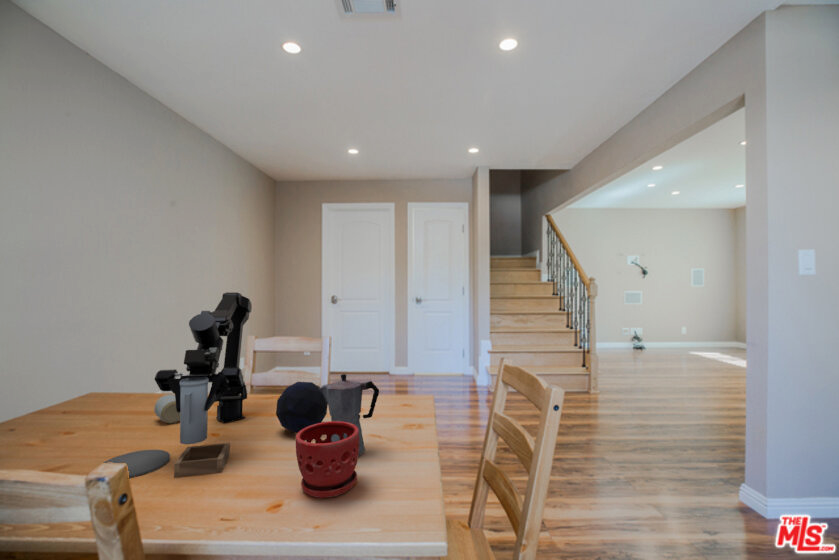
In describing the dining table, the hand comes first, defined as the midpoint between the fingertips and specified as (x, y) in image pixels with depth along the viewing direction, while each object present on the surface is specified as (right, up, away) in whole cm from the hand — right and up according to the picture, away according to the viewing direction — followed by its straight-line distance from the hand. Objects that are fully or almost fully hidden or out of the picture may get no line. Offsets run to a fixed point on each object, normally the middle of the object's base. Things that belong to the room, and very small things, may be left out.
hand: (192, 410), depth 91 cm
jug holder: (+2, -13, +2) cm, 14 cm away
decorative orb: (+18, -14, +24) cm, 34 cm away
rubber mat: (-14, -13, +1) cm, 20 cm away
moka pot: (+35, -14, +10) cm, 39 cm away
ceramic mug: (-24, -14, +33) cm, 44 cm away
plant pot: (+34, -14, -8) cm, 37 cm away
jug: (0, -7, +1) cm, 7 cm away
